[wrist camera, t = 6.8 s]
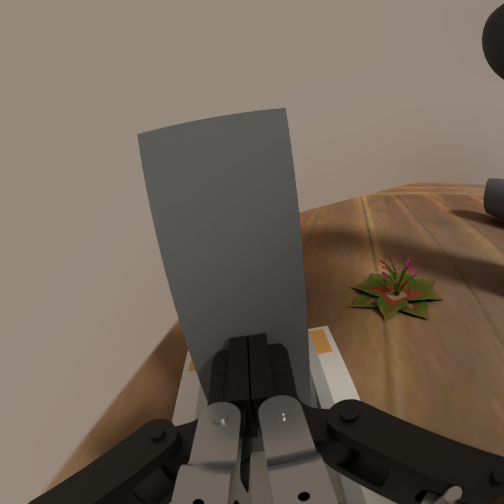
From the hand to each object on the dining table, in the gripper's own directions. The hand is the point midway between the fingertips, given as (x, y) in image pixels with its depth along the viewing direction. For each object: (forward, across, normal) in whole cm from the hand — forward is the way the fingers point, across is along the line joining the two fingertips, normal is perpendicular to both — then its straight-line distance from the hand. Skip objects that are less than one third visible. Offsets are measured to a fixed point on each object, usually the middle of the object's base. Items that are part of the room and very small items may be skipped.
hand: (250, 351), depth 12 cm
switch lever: (+1, 0, +7) cm, 7 cm away
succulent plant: (+16, -16, +10) cm, 25 cm away
